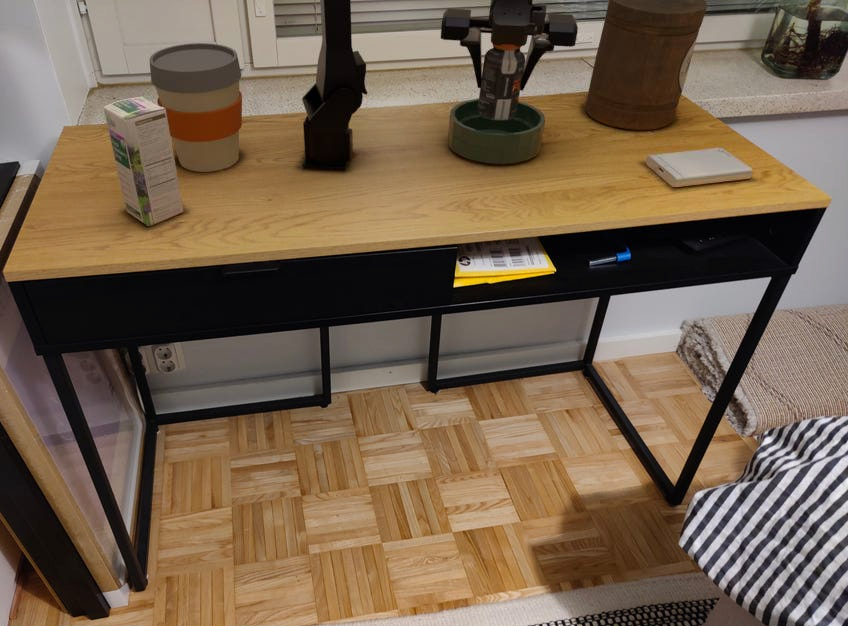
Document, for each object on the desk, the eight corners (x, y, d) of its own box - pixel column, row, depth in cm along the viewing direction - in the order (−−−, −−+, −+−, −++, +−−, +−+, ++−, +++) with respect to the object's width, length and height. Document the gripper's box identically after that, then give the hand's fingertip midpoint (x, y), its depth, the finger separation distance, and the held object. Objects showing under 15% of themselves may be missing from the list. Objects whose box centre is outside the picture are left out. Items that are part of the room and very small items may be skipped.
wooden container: (691, 126, 118) (736, -20, 103) (610, 134, 115) (645, -14, 101) (645, 94, 129) (680, -42, 114) (570, 101, 126) (596, -38, 112)
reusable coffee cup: (151, 170, 105) (129, 66, 95) (191, 136, 114) (175, 39, 104) (228, 182, 102) (214, 76, 92) (263, 147, 111) (253, 47, 101)
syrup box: (125, 212, 95) (99, 105, 86) (163, 197, 98) (141, 93, 89) (147, 227, 92) (123, 119, 83) (186, 212, 95) (166, 105, 86)
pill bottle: (515, 123, 105) (528, 44, 98) (475, 119, 106) (485, 40, 99) (516, 108, 110) (529, 31, 102) (478, 104, 111) (488, 27, 103)
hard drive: (720, 146, 108) (647, 153, 106) (754, 169, 102) (677, 177, 100) (716, 156, 109) (644, 163, 107) (750, 180, 103) (674, 188, 101)
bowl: (445, 163, 107) (447, 131, 104) (450, 125, 118) (452, 95, 114) (541, 169, 105) (547, 137, 102) (537, 130, 116) (542, 100, 113)
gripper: (442, -17, 90) (433, 104, 100) (591, -10, 88) (567, 113, 98) (447, -37, 98) (439, 77, 109) (583, -31, 97) (562, 84, 107)
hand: (500, 88), depth 105 cm, fingers closed on pill bottle, 6 cm apart
